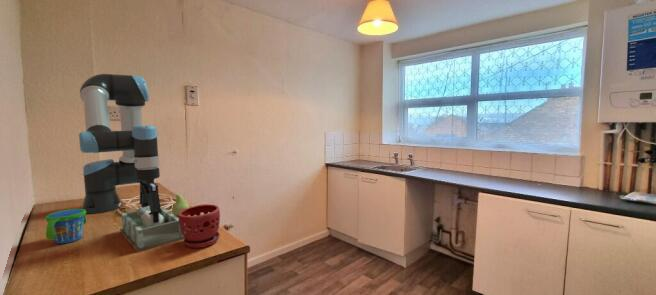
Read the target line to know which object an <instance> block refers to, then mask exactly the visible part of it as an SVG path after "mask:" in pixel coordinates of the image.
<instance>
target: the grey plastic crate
mask: <svg viewBox="0 0 656 295" xmlns="http://www.w3.org/2000/svg"><path fill="white" fill-rule="evenodd" d="M160 207H161V212H159V214H161V215H162V216H163V217H164V219H165V223H164V224H160V225H156V226H151V227H147V228H146V226H145V224H143V219H142V218H141V216H139V215H138V214H137V210H135V211H134V210H133V211H131V212H125V213H121V223H122V224H121V225H122V228H121V229H119V231H120V233H121V235H122V236H123V237H124V239H125V240H127V242H128V243H129V244H130V246H131V247H133V249H134V250H135V251H136V253H140V252H143V251H147V250H148V251H149V250H150V249H154V248H157V247H161V246H165V245H169V244H172V243H175V242H179V241H181V240H182V241H183V240H184V239H185V237H184V236H183V234H182V232H181V228H180V225H179V217H178V216H175V215H174V214H173V213H172V212H170V211H169V210H167V209H165V208H164V207H162V206H161V205H160ZM155 210H156V209H155Z"/></svg>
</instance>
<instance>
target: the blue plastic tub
mask: <svg viewBox="0 0 656 295" xmlns="http://www.w3.org/2000/svg"><path fill="white" fill-rule="evenodd" d="M86 214H87V213H86V211H85V209H82V208H72V209H71V208H70V209H64V210H58V211H55V212H51V213H49V214H47V215H46V216H45V218H44V219H45V221H46V222H47V225H46V231H45V238H46V239H47V240H53V241H54V243H56V244H58V245H59V244H60V245H62V244H68V243H73V242H76V241H78V240H79V239H81V238H83V235H84V234H83V233H84V227H85V226H84V225H86V223H87V222H88V221H87V217H86Z"/></svg>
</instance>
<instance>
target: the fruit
mask: <svg viewBox="0 0 656 295" xmlns="http://www.w3.org/2000/svg"><path fill="white" fill-rule="evenodd" d="M169 193H170V194H173V195H175V196H176V197H175V198H176V200H175V203H174V204H173V206H172V207H171V213H172V214H173V215H175V216H176V217H178V214H179V212H180V211H182V210H184V209H186V208H189V207H190V204H189V203H188V202H187V201H186V199H185V198H184V197H183V196H182V195H181V194H179V193H175V192H172V191H170V190H169Z"/></svg>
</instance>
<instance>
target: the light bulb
mask: <svg viewBox="0 0 656 295" xmlns="http://www.w3.org/2000/svg"><path fill="white" fill-rule="evenodd" d="M136 211H137V214H138V215H139V216H141V218H142V219H143V221H144V224H145V226H146V228H147V227H151V221H150V215H149V213H150V211H146V210H145V209H144V208H142V207H139V208H138V209H137V210H136ZM159 219H160V224H164V223H165V219H164V217H163V216H162V215H161V214H159Z"/></svg>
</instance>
